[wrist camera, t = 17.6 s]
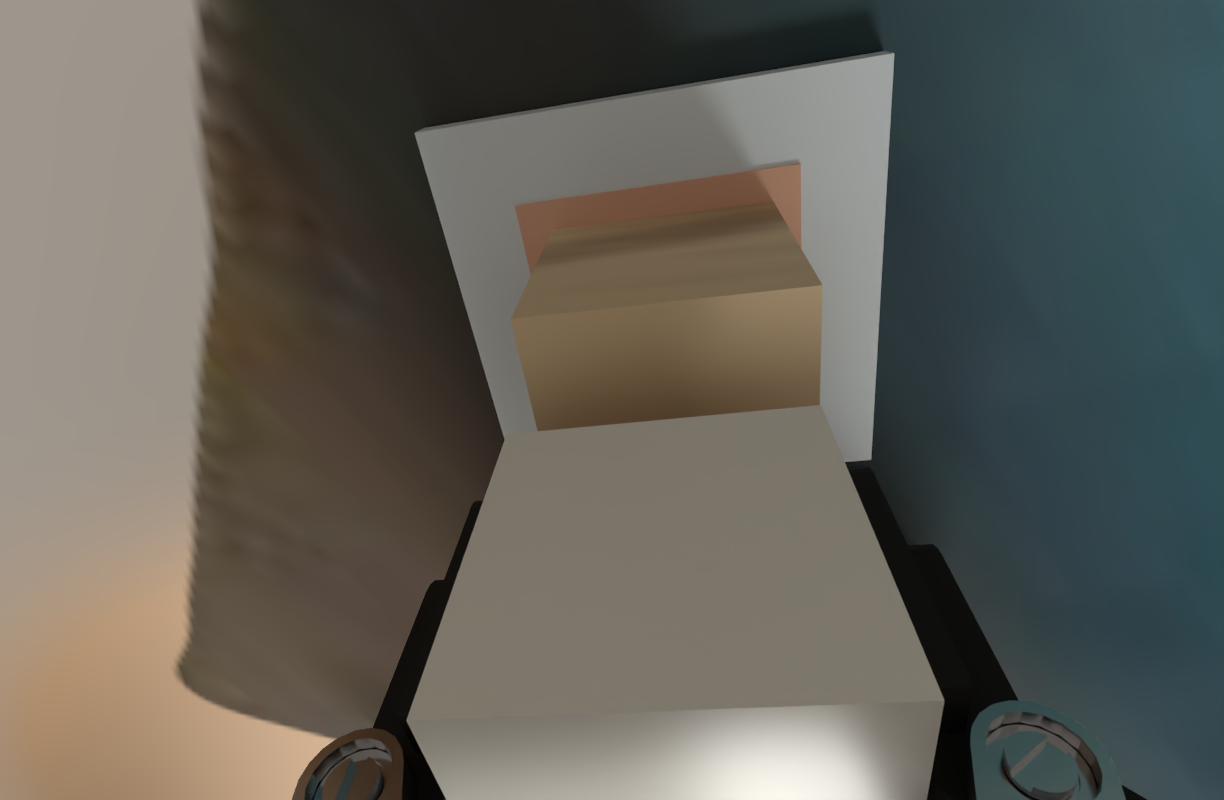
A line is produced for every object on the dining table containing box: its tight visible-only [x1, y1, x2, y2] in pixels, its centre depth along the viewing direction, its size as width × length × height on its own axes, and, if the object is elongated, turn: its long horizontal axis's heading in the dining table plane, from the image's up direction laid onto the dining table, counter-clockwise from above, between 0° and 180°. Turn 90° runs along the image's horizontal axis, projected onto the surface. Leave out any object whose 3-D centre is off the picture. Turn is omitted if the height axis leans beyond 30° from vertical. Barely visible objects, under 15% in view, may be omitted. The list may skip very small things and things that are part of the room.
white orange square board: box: [415, 51, 894, 462], centre depth 19 cm, size 12×12×1 cm
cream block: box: [406, 405, 945, 800], centre depth 9 cm, size 5×5×5 cm
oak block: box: [511, 202, 823, 431], centre depth 17 cm, size 6×6×6 cm
